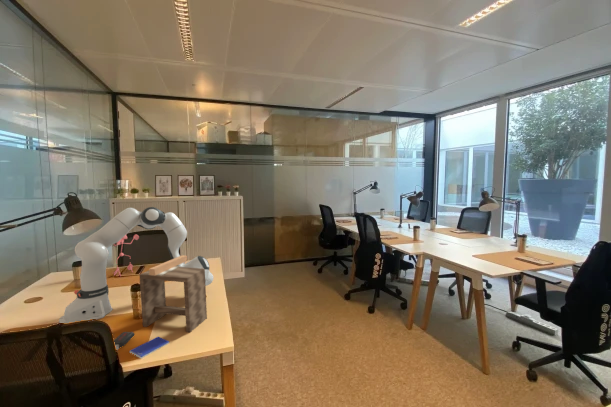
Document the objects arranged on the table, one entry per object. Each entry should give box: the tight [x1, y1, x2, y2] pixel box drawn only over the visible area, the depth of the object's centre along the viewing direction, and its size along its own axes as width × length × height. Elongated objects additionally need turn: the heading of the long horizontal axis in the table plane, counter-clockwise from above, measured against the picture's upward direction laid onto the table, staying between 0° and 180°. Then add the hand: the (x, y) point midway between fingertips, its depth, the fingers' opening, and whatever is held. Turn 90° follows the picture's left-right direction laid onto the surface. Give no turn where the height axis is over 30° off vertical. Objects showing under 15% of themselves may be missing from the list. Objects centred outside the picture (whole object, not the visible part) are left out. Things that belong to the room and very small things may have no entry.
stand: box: [139, 266, 208, 333], centre depth 145 cm, size 14×26×26 cm, turn 77°
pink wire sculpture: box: [113, 234, 140, 277], centre depth 221 cm, size 15×26×35 cm, turn 152°
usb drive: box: [113, 331, 135, 351], centre depth 129 cm, size 5×12×3 cm, turn 0°
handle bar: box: [148, 255, 188, 276], centre depth 149 cm, size 24×3×3 cm, turn 167°
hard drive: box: [129, 336, 170, 359], centre depth 125 cm, size 2×8×12 cm
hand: (181, 269), depth 158 cm, fingers open, 8 cm apart
